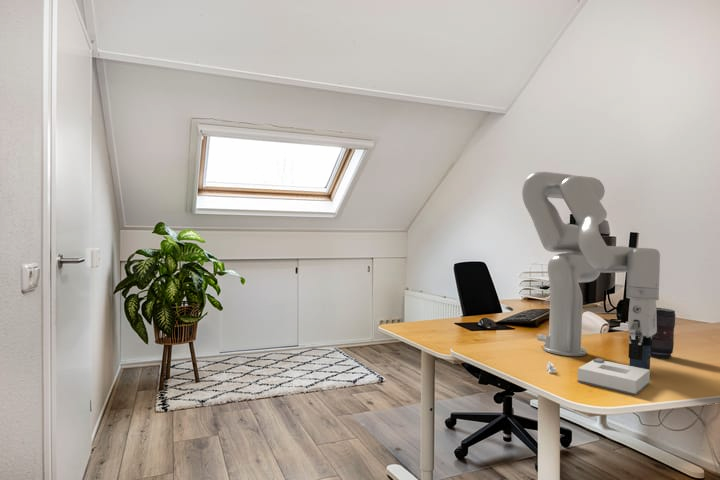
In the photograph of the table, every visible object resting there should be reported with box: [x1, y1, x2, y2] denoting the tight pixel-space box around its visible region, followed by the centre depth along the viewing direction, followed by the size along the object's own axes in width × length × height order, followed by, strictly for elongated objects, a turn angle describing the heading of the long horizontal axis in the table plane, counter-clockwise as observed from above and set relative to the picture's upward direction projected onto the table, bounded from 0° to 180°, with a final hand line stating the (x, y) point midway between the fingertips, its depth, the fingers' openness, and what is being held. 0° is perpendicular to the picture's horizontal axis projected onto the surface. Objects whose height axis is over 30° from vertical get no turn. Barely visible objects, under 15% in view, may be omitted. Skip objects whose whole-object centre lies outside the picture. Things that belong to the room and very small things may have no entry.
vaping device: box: [628, 336, 652, 371], centre depth 124 cm, size 3×5×12 cm, turn 23°
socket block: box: [577, 357, 651, 396], centre depth 116 cm, size 13×13×4 cm
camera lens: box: [650, 307, 676, 360], centre depth 143 cm, size 8×8×15 cm
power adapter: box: [546, 361, 557, 374], centre depth 123 cm, size 3×3×3 cm
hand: (640, 355), depth 124 cm, fingers open, 9 cm apart
